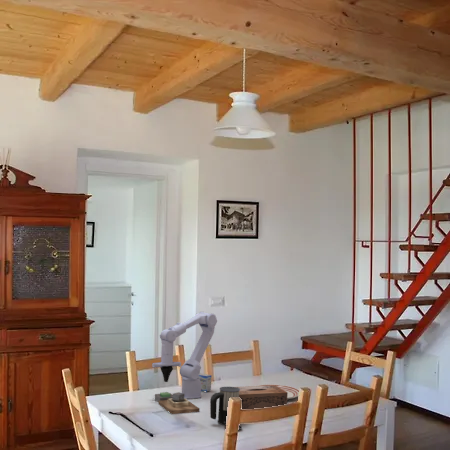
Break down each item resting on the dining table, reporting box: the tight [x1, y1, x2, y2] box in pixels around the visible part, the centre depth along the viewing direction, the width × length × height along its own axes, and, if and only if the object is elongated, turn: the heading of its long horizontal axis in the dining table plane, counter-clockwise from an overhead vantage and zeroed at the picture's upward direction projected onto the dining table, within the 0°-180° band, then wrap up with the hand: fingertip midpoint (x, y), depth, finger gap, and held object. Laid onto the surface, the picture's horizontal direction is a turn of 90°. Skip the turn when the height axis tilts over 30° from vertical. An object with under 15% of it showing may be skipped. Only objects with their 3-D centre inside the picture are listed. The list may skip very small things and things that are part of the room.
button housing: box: [154, 392, 173, 403], centre depth 287 cm, size 8×8×2 cm
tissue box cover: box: [235, 384, 288, 409], centre depth 277 cm, size 26×14×10 cm, turn 109°
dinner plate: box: [256, 383, 300, 401], centre depth 306 cm, size 28×27×3 cm
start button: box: [159, 391, 171, 397], centre depth 287 cm, size 4×4×2 cm
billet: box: [172, 392, 185, 402], centre depth 275 cm, size 4×4×5 cm
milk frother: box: [209, 386, 243, 429], centre depth 251 cm, size 14×16×15 cm
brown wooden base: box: [158, 398, 200, 415], centre depth 275 cm, size 14×18×4 cm
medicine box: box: [197, 373, 213, 393], centre depth 311 cm, size 8×4×9 cm, turn 62°
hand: (165, 381), depth 287 cm, fingers closed
